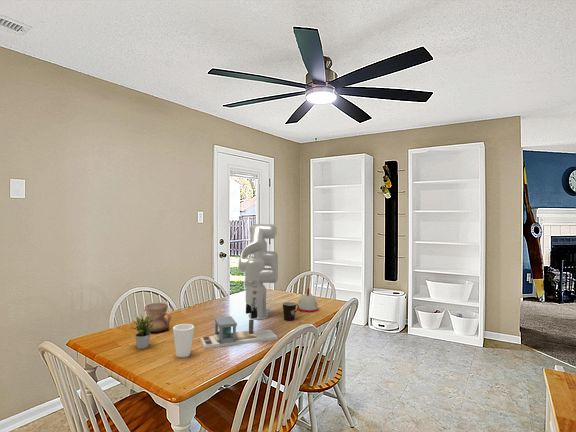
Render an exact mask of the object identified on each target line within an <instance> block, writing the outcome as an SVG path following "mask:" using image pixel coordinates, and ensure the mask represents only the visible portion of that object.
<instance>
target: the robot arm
mask: <svg viewBox="0 0 576 432" xmlns="http://www.w3.org/2000/svg"><path fill="white" fill-rule="evenodd" d="M249 233H250V239H249V244H247V245H246V246H245V247H244V248H242V250H241V252H240V255H239V260H238V270H239V271H240V272H242V273H243V272H244V274H245V275H244V277H245V278H244V287H245V288H246V289H245V314H246V315H248V318H250V319H252V320H264V319H268V318H269V314H273V313H274V310H273V309H267V287H266V286H265V285H264V284H275V283H277V281H278V278H279V276H278V275H279V255H278V253H277V252H276V251H270V250H268V242H267V241H266V240H268V239H269V240H273V239H275V238H276V237H277V234H278V228H277V225H276V224H267V223H265V224H264V223H256V224H255V223H254V224H251V225H250V226H249ZM250 255H253V257H252V258H251V257H249V256H250ZM248 257H249V258H248Z"/></svg>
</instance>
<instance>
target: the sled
mask: <svg viewBox="0 0 576 432" xmlns="http://www.w3.org/2000/svg"><path fill="white" fill-rule="evenodd" d="M254 320H255V319H252V318H250V319H248V330H246V331H236V340H237V339H246V338H254V337H257V335H256V334H255V333H254V332H253V331H254ZM218 331H219V334H216V335H215V334H214V335H213V336H214V338H215V339H216V341H217V342H219V336H220V328H219V327H218ZM232 337H233V332H232V327H225V328H223V332H222V339H224V338H232Z"/></svg>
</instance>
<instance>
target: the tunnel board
mask: <svg viewBox="0 0 576 432" xmlns="http://www.w3.org/2000/svg"><path fill="white" fill-rule="evenodd" d="M214 323H215V324H214V335H216V334H219V328H220V336H219V342H217V341H216V339H215V338H214V335H211V336H209V335H208V336H202V337H201V336H200V343H201V344H202V346H203V347H202V348H204V350H205V349H213V348H219V347H228V346H237V345H243V344H251V343H259V342H260V343H261V342H268V341H274V340H275V341H276V340H278V339H279V338H278V337H279V336H278V335H277V334H276V333H275V332H274V331H272V330H271V329H264V330H263V329H262V330H255V331H254V330H253V332H254V333H255V334H256V335H257V337H254V338H246V339H237V340H236V332H237V326H238V323H237V322H236V320H235V319H234V318H233V316H231V315H228V316H220V317H214ZM225 327H231V328H232V333H233V337H232V338H224V339H222V332H223V328H225Z"/></svg>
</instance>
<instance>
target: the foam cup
mask: <svg viewBox="0 0 576 432" xmlns="http://www.w3.org/2000/svg"><path fill="white" fill-rule="evenodd" d="M194 332H195V325H193V324H192V323H191V324H190V323H181V324H176V325H174V326H173V328H172V333H173V339H174V349H175V356H176V357H177V358H187V357H189V356H190V355H191V350H192V346H193V345H192V344H193V339H194Z"/></svg>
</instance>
